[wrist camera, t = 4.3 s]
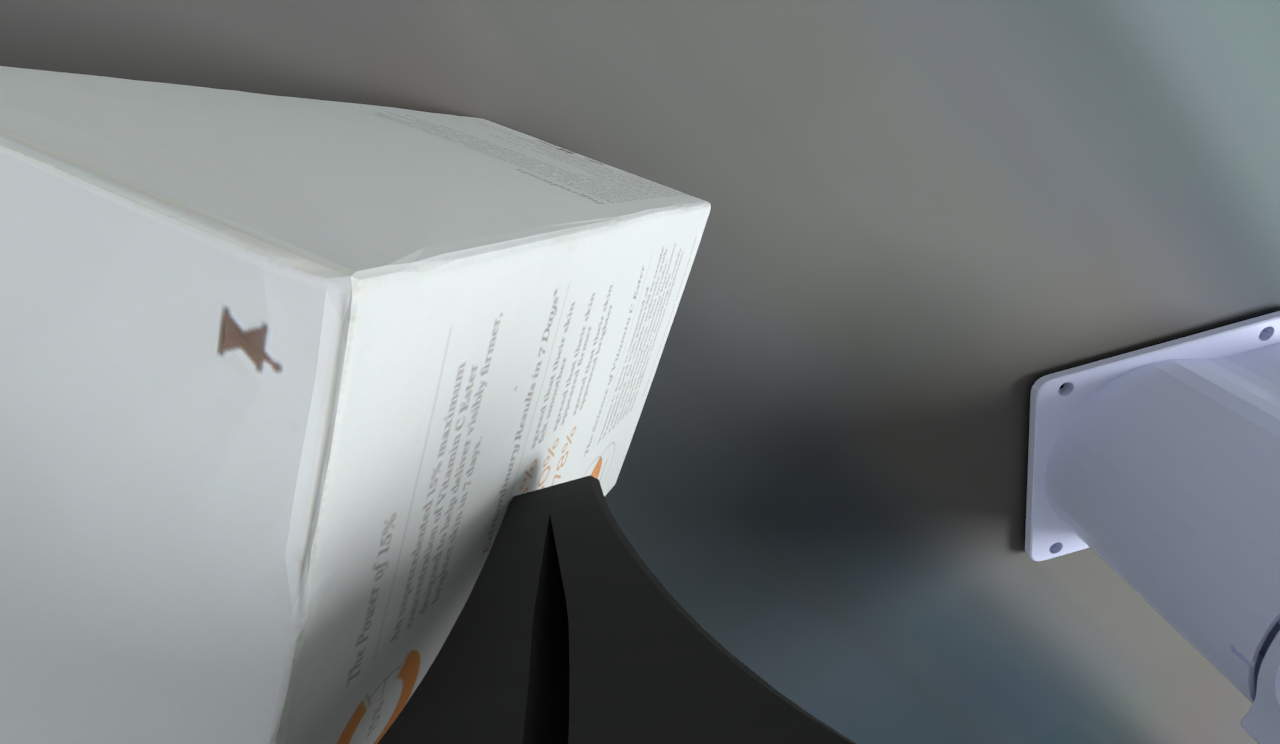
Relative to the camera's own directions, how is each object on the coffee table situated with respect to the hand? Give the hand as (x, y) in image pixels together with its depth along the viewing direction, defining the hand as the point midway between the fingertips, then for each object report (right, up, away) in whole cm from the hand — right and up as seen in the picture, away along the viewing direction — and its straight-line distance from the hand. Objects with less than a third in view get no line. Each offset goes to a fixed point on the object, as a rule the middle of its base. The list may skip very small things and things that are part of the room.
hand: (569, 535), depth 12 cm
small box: (-1, +4, +8) cm, 9 cm away
